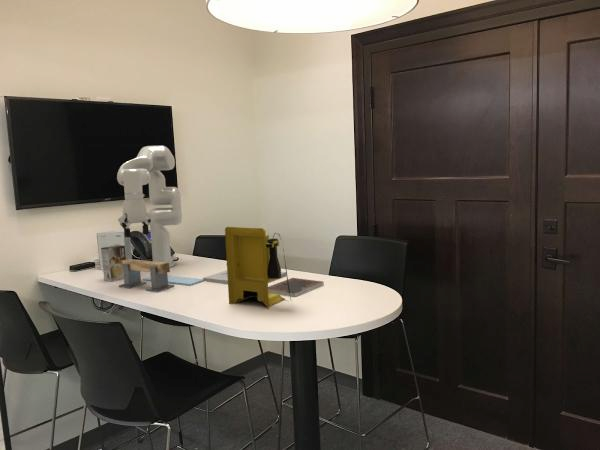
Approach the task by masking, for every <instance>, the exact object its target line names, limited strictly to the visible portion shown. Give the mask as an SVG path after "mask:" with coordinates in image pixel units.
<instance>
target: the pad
mask: <svg viewBox="0 0 600 450" xmlns="http://www.w3.org/2000/svg"><path fill="white" fill-rule="evenodd" d="M167 275H168V284H170V285H178V286H179V285H180V286H189V287H191V285H192V286H194V284H195V285H198V284H201V283H203V282H204V280H203V278H198V277H197V278H196V277H186V276H178V275H171V274H170V275H169V274H167ZM145 280H146V281H145ZM142 281H145V282H151V275H150V276H147V277H143V278H142Z"/></svg>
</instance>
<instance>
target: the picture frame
mask: <svg viewBox="0 0 600 450" xmlns="http://www.w3.org/2000/svg"><path fill="white" fill-rule="evenodd" d="M288 284H289V290H290V294H289V290H288ZM323 286H324V281H322V280H321V281H320V280H315V279H307V278H306V279H305V278H298V277H290V278H288V283H287V279H285V280H283V281H280V282H277V283H274V284H272V285H268V293H271V294H279V295H280V296H284V297H290V296H291V298H292V297H293V298H297V297H299V296H301V295H303V294H306V293H308V292H310V291H312V290H317V288H321V287H323Z"/></svg>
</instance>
